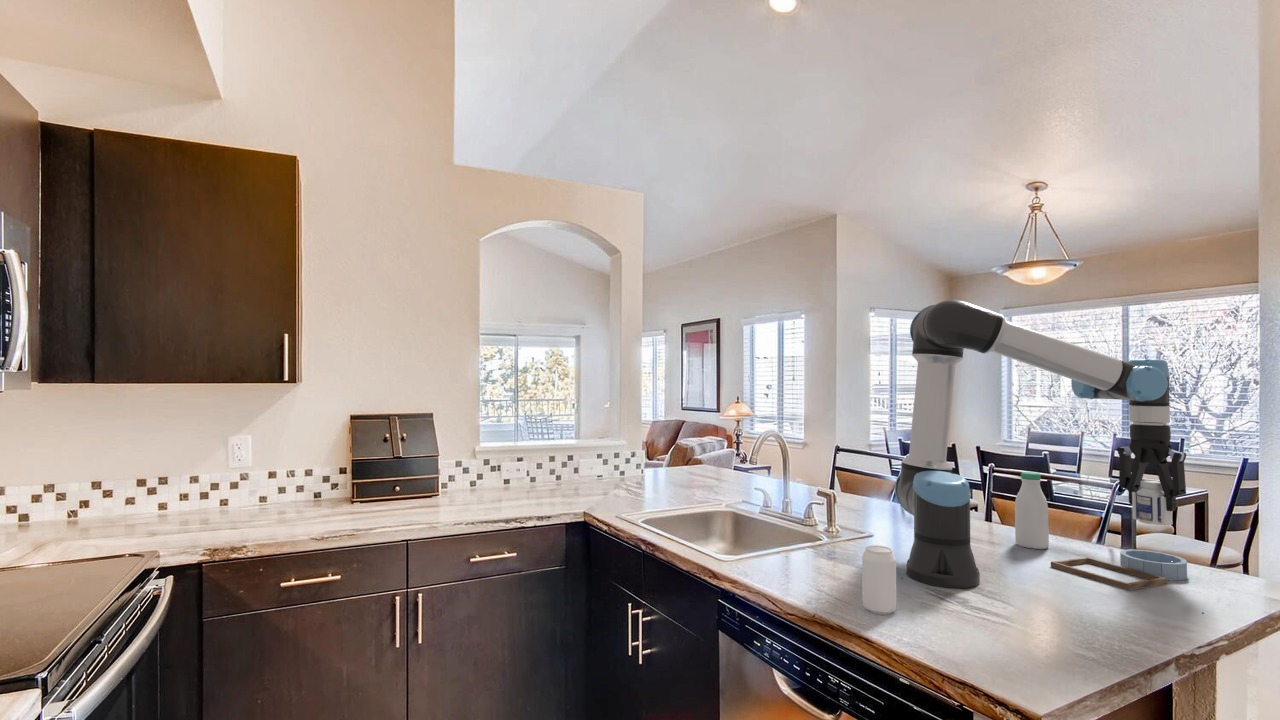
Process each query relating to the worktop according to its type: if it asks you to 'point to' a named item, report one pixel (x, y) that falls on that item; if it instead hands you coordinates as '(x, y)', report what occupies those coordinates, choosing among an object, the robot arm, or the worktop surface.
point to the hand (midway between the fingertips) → (1152, 521)
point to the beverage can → (879, 580)
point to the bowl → (1155, 563)
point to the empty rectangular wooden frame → (1151, 581)
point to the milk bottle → (1031, 513)
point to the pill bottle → (1149, 502)
